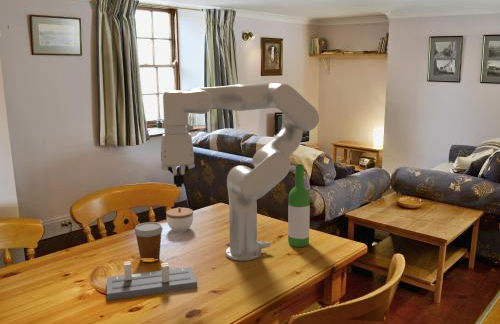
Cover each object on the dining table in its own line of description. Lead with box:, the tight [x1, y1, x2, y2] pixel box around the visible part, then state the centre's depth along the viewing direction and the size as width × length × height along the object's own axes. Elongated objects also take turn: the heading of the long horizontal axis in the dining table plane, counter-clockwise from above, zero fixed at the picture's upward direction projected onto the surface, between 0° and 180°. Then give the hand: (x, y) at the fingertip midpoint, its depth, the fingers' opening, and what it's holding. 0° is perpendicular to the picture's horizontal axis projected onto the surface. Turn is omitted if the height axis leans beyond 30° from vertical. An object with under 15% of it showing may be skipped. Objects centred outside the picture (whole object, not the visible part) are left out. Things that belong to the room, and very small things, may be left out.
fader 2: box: [160, 262, 170, 282], centre depth 141 cm, size 2×2×5 cm
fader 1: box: [123, 260, 133, 281], centre depth 143 cm, size 2×2×5 cm
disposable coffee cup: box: [133, 221, 164, 260], centre depth 161 cm, size 10×10×12 cm
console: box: [106, 266, 198, 301], centre depth 143 cm, size 26×11×2 cm, turn 106°
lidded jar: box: [165, 207, 194, 233], centre depth 190 cm, size 11×11×9 cm
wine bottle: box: [287, 164, 311, 248], centre depth 172 cm, size 8×8×30 cm
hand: (178, 186), depth 153 cm, fingers closed
